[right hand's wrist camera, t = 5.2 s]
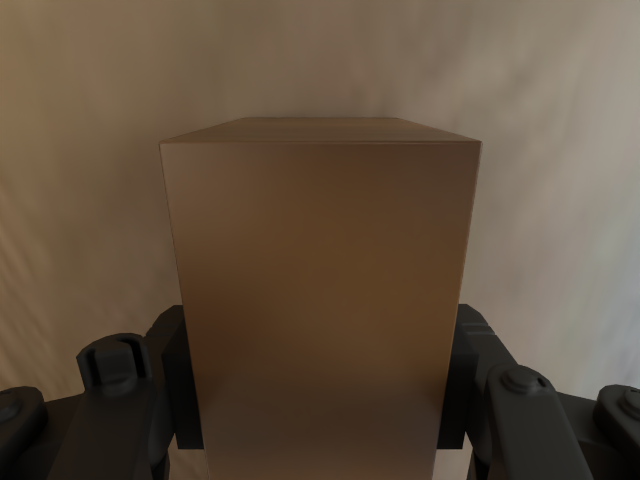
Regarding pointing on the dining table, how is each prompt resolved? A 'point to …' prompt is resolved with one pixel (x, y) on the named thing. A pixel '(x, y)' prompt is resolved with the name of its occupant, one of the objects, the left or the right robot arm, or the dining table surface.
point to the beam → (320, 290)
